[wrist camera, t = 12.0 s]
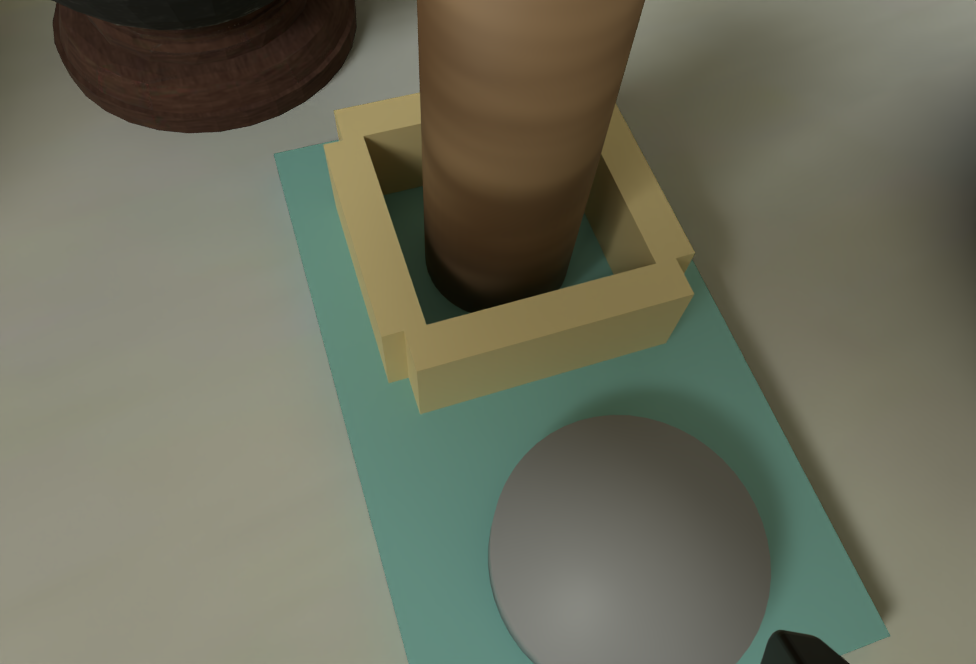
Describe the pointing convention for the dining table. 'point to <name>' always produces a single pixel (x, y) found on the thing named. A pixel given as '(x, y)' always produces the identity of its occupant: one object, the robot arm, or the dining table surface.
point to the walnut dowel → (513, 136)
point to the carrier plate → (502, 430)
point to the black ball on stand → (202, 57)
